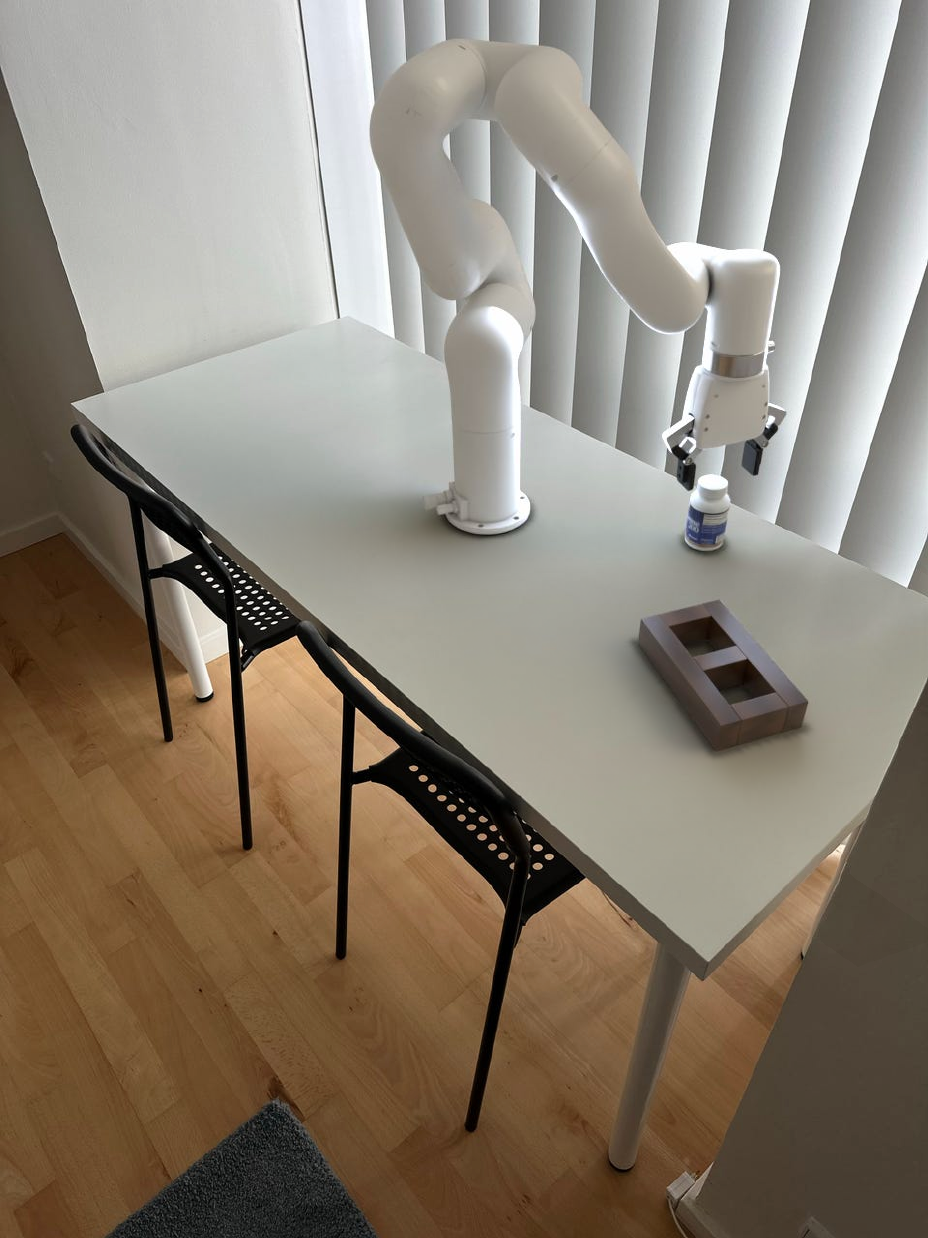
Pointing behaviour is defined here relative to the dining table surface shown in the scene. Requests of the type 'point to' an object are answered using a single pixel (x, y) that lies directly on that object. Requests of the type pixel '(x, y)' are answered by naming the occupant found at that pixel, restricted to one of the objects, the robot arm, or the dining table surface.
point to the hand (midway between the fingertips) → (717, 478)
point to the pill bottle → (708, 513)
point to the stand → (721, 674)
